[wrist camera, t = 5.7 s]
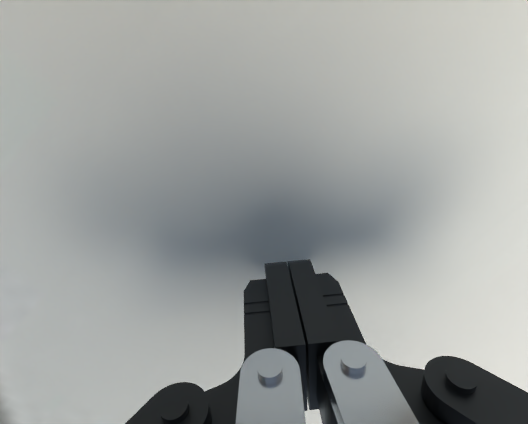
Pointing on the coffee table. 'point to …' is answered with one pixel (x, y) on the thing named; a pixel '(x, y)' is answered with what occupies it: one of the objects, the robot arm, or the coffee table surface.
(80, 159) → the coffee table surface
